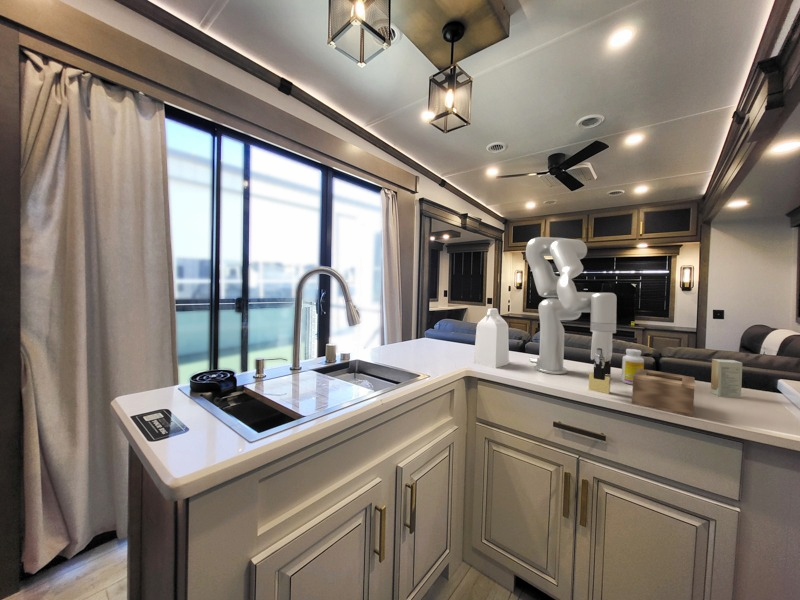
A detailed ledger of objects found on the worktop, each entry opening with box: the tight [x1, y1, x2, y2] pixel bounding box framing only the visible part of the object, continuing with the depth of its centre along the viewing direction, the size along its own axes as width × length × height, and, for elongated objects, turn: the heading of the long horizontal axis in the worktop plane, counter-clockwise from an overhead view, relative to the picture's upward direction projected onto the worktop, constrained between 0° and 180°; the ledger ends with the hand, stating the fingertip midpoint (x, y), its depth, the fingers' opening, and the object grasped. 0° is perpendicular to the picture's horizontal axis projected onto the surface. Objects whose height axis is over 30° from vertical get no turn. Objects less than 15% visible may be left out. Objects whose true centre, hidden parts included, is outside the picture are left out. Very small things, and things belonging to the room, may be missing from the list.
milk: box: [473, 308, 510, 369], centre depth 144 cm, size 12×12×26 cm
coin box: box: [631, 368, 696, 418], centre depth 96 cm, size 14×12×9 cm
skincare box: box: [710, 358, 743, 399], centre depth 105 cm, size 6×4×12 cm
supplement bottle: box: [621, 348, 645, 386], centre depth 117 cm, size 7×7×13 cm
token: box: [588, 371, 612, 395], centre depth 108 cm, size 6×2×6 cm, turn 46°
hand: (602, 376), depth 107 cm, fingers open, 9 cm apart
